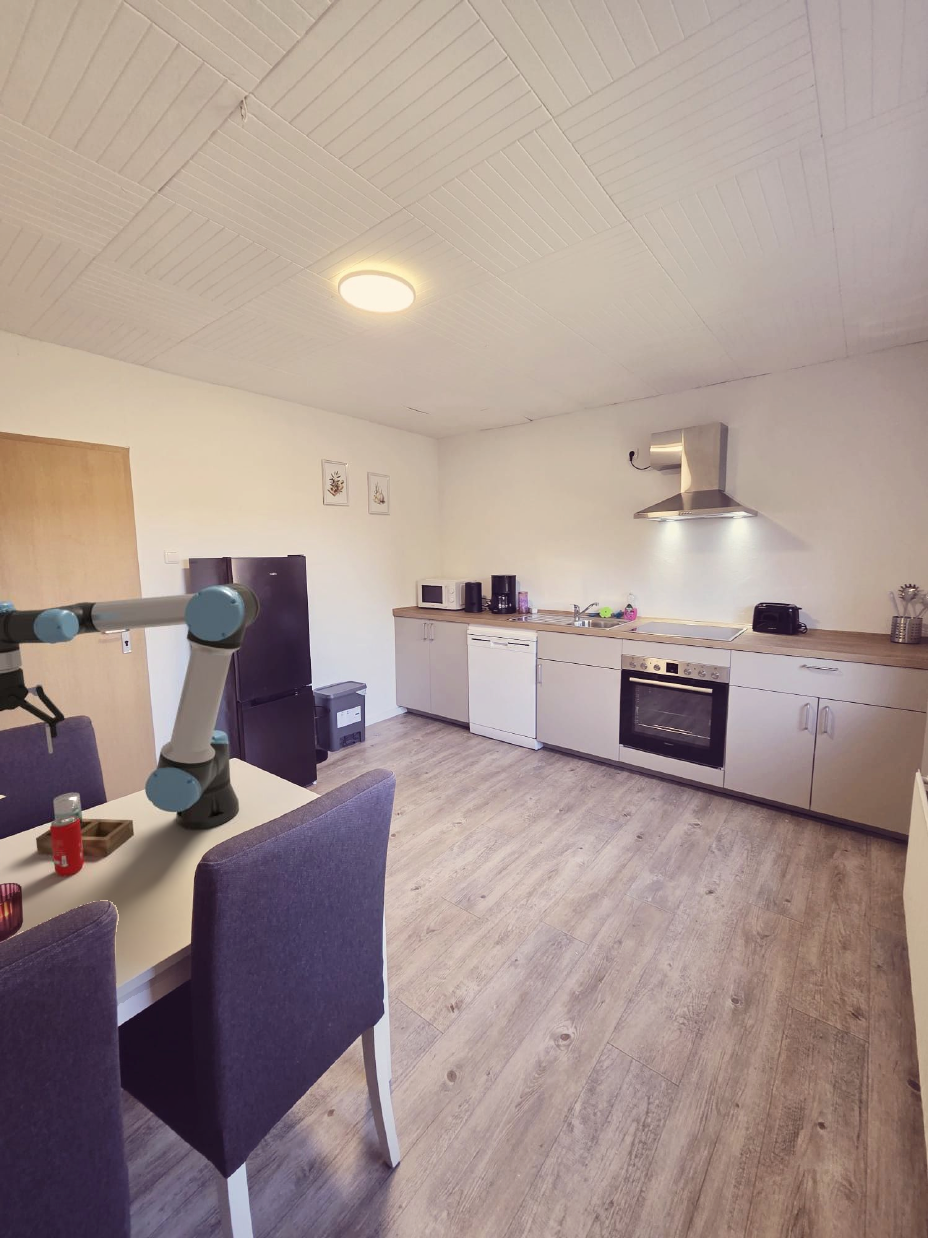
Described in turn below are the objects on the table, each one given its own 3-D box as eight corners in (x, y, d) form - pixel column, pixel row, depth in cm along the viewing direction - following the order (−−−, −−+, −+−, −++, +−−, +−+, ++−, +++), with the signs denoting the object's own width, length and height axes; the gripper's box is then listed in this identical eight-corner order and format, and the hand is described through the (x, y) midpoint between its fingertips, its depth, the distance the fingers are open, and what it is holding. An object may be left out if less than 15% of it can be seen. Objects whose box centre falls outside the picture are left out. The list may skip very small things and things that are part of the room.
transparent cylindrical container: (89, 838, 127) (85, 792, 125) (73, 850, 122) (68, 802, 120) (69, 837, 127) (64, 792, 125) (52, 849, 122) (47, 802, 120)
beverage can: (53, 870, 114) (48, 820, 113) (82, 860, 118) (77, 811, 116) (57, 881, 111) (51, 829, 109) (86, 870, 114) (81, 820, 113)
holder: (133, 835, 128) (132, 820, 128) (107, 856, 120) (106, 840, 119) (68, 833, 129) (67, 818, 129) (37, 854, 120) (35, 838, 120)
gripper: (68, 659, 126) (78, 741, 129) (-77, 676, 110) (-62, 769, 113) (71, 664, 121) (81, 749, 124) (-82, 683, 104) (-66, 781, 107)
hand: (13, 759), depth 118 cm, fingers open, 13 cm apart
